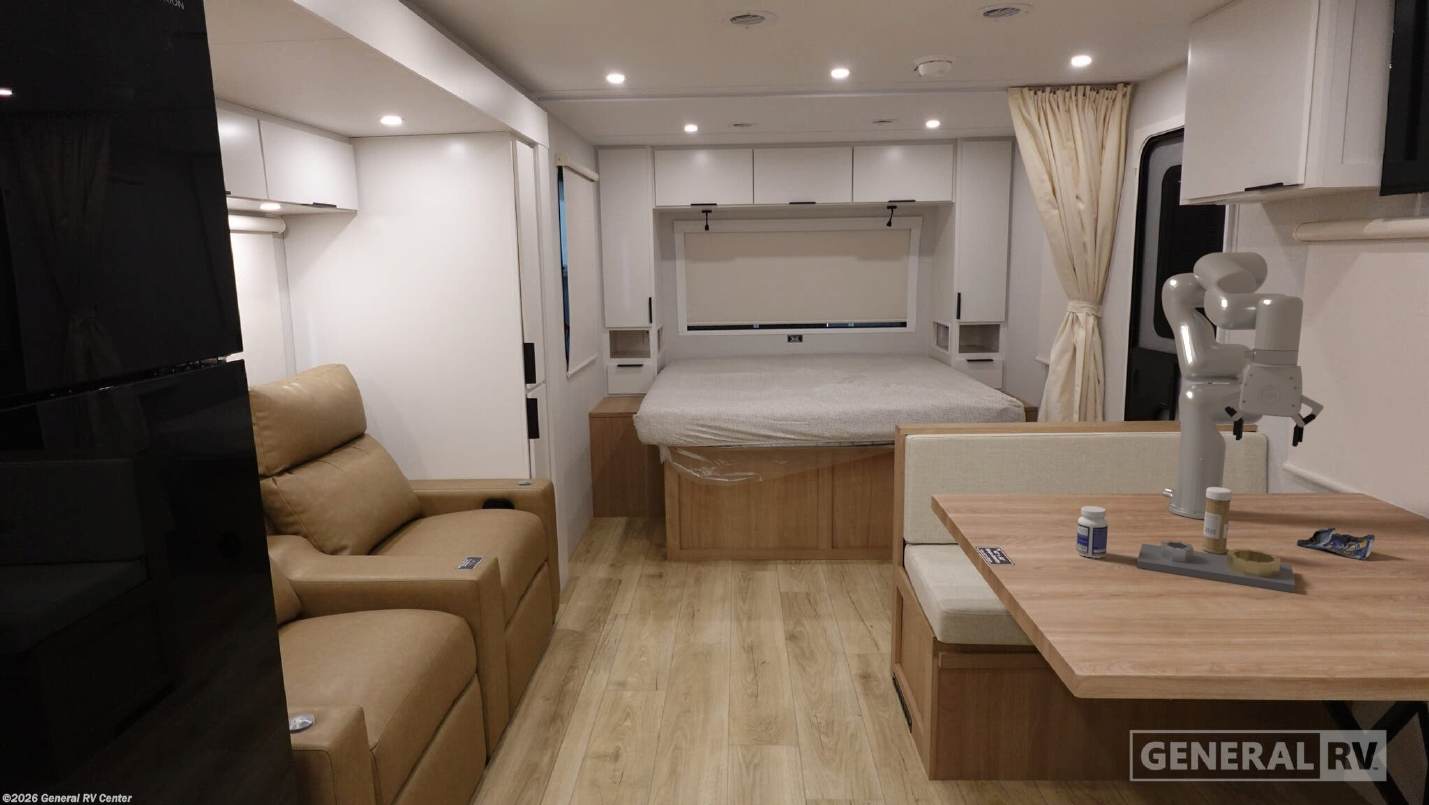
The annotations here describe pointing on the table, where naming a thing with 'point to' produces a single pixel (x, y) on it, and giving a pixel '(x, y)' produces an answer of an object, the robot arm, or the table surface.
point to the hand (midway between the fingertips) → (1266, 442)
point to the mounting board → (1213, 569)
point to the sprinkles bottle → (1216, 520)
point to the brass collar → (1253, 562)
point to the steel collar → (1176, 551)
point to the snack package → (1340, 543)
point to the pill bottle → (1092, 532)
